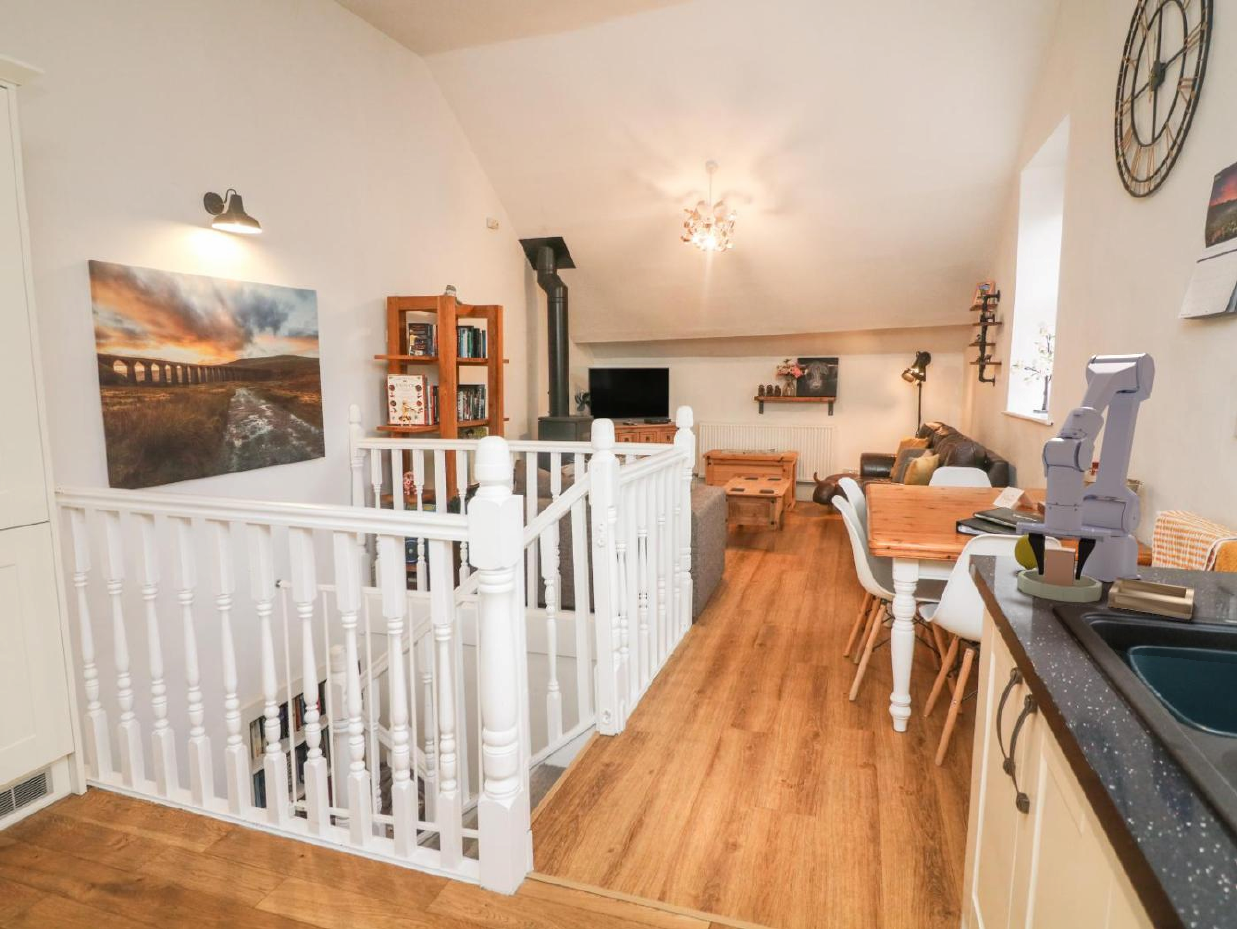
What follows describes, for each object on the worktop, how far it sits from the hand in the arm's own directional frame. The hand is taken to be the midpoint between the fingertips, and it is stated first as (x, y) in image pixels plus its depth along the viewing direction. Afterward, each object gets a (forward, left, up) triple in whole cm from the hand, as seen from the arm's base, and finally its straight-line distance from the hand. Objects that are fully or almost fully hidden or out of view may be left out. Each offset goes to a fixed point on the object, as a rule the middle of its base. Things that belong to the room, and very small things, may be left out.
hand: (1059, 576), depth 127 cm
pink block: (0, 0, -3) cm, 3 cm away
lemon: (-8, -13, -3) cm, 16 cm away
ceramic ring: (0, 0, -3) cm, 3 cm away
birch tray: (-8, +11, -3) cm, 14 cm away
